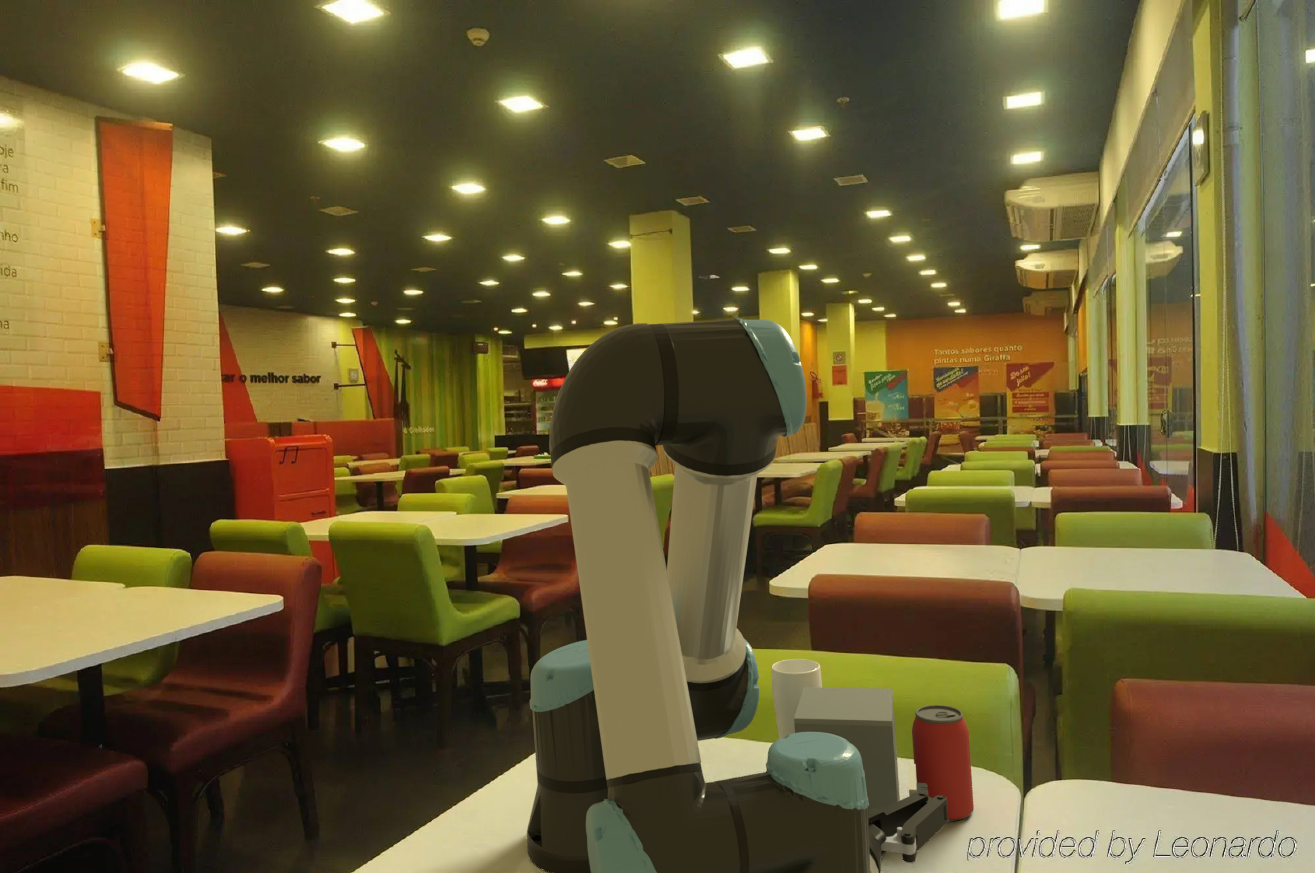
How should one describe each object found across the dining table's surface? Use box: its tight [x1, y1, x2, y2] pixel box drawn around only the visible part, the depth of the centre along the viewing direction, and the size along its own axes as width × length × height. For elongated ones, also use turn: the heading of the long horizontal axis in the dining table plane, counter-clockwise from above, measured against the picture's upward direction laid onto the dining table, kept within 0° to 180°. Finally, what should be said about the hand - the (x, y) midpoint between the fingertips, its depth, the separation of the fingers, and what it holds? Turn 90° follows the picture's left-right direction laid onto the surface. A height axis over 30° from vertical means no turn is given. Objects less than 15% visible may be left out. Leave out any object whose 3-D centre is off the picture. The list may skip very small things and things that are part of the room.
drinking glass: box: [770, 658, 823, 739], centre depth 116 cm, size 7×7×15 cm
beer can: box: [911, 704, 975, 822], centre depth 103 cm, size 7×7×12 cm
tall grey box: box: [794, 687, 901, 823], centre depth 103 cm, size 11×11×14 cm
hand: (850, 772), depth 98 cm, fingers open, 13 cm apart
